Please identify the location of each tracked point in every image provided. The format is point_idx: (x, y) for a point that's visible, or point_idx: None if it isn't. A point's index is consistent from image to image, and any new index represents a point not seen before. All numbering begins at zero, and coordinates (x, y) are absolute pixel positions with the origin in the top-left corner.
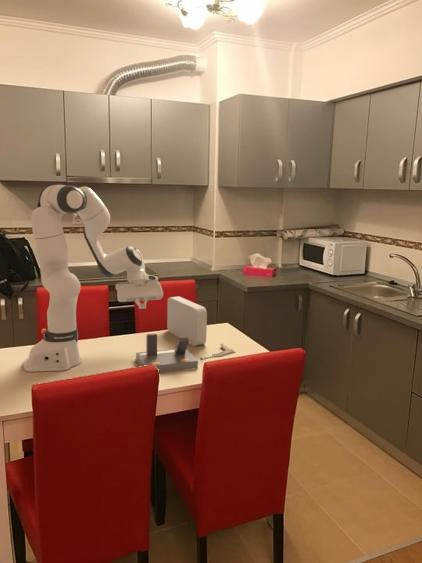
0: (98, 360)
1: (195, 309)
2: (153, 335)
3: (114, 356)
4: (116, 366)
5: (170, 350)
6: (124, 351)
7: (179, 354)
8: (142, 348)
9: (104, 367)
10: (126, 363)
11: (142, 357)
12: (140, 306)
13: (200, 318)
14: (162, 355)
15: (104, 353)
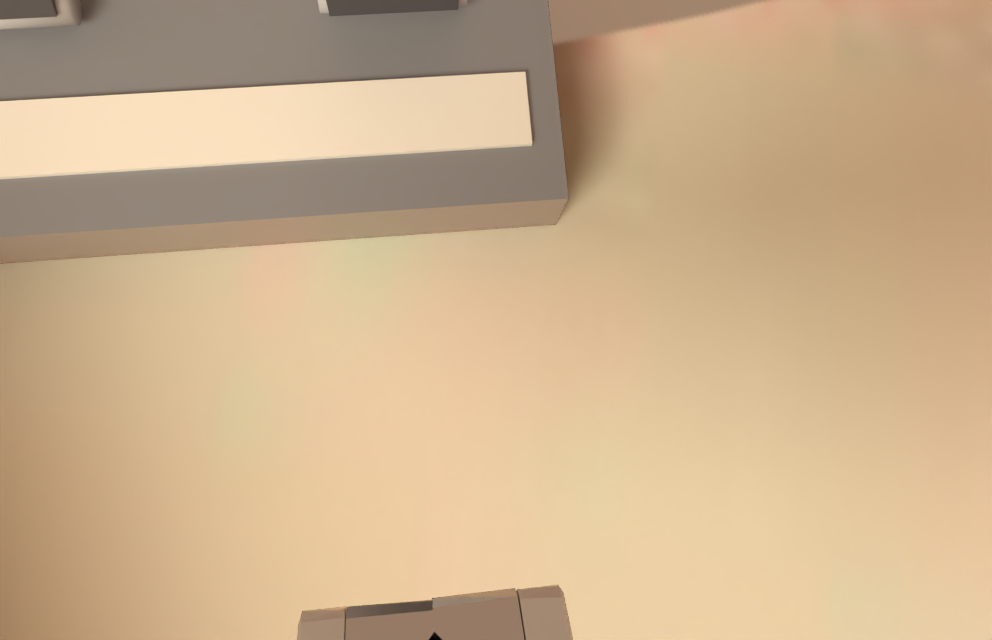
0: (985, 303)
1: None
2: None
3: (803, 395)
4: (788, 83)
5: (93, 168)
6: (673, 552)
7: None
8: None
9: (914, 84)
10: (675, 144)
11: (508, 19)
12: (531, 597)
13: None
14: (244, 31)
15: (923, 527)
